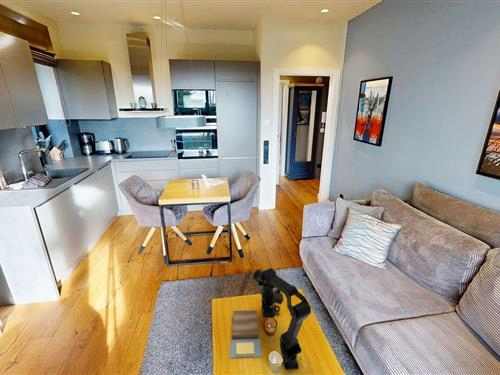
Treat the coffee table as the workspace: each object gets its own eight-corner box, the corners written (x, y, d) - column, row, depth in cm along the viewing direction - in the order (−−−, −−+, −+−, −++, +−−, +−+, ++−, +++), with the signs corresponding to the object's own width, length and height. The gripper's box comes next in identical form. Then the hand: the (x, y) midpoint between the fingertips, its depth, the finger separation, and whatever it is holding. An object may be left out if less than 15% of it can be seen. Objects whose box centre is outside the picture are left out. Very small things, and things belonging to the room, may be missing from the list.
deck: (258, 339, 132) (258, 333, 130) (232, 340, 131) (232, 334, 130) (256, 315, 147) (256, 310, 146) (233, 316, 147) (233, 310, 145)
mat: (261, 357, 122) (261, 356, 122) (229, 358, 122) (229, 357, 122) (260, 339, 132) (260, 338, 132) (230, 340, 131) (230, 339, 131)
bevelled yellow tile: (253, 342, 127) (253, 345, 128) (236, 342, 127) (236, 345, 128) (254, 353, 122) (254, 356, 122) (236, 353, 122) (236, 356, 122)
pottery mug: (260, 317, 146) (258, 302, 148) (265, 312, 155) (264, 298, 156) (279, 318, 142) (277, 303, 143) (283, 313, 150) (282, 299, 152)
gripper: (285, 304, 119) (284, 328, 124) (280, 278, 137) (279, 300, 142) (262, 304, 119) (262, 329, 124) (260, 279, 137) (260, 301, 142)
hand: (267, 314), depth 133 cm, fingers closed
